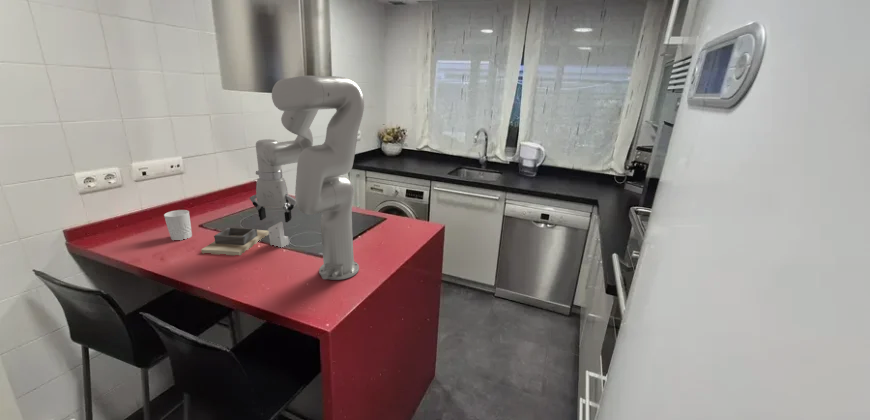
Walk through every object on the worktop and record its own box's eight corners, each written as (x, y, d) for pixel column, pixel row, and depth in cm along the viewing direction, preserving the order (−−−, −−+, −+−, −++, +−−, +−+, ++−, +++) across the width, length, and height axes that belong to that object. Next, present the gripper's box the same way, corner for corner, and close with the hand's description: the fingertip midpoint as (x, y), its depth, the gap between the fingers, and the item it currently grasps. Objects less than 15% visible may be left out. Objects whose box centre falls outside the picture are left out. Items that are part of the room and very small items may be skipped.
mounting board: (239, 255, 128) (237, 244, 127) (201, 253, 129) (199, 241, 128) (269, 234, 147) (267, 223, 146) (235, 232, 148) (234, 221, 147)
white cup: (169, 243, 137) (164, 218, 134) (169, 236, 143) (163, 212, 140) (194, 238, 141) (189, 214, 138) (192, 232, 147) (188, 208, 144)
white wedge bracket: (289, 244, 133) (278, 222, 132) (273, 251, 138) (263, 231, 137) (297, 240, 136) (286, 219, 135) (281, 248, 141) (270, 228, 140)
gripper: (241, 176, 127) (247, 221, 132) (289, 179, 125) (293, 225, 131) (253, 170, 134) (258, 214, 139) (299, 174, 132) (302, 218, 138)
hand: (275, 220), depth 135 cm, fingers open, 9 cm apart
